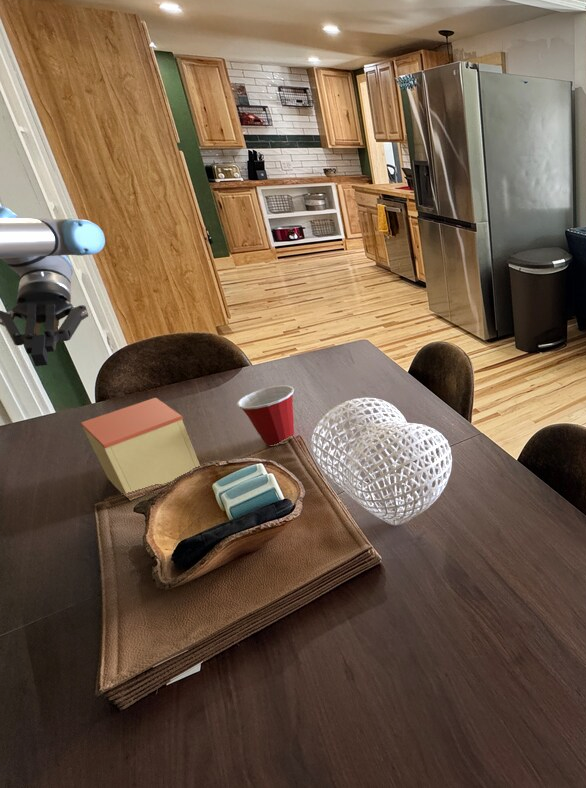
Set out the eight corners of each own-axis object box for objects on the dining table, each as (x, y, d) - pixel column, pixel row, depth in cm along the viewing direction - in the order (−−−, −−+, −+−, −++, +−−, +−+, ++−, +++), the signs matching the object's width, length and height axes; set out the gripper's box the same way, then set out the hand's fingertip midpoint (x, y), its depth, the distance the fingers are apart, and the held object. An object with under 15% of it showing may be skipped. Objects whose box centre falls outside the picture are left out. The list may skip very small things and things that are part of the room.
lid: (183, 419, 95) (181, 415, 94) (104, 448, 86) (103, 444, 85) (157, 400, 101) (155, 397, 101) (81, 426, 92) (80, 422, 92)
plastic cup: (290, 421, 117) (278, 378, 112) (315, 434, 112) (303, 390, 107) (241, 443, 108) (226, 398, 104) (266, 459, 103) (251, 412, 99)
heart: (479, 530, 85) (466, 425, 76) (399, 591, 73) (374, 475, 65) (393, 469, 100) (374, 376, 92) (317, 511, 89) (287, 409, 80)
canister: (201, 469, 100) (181, 417, 95) (130, 502, 91) (103, 447, 86) (177, 450, 106) (157, 400, 101) (108, 479, 97) (82, 426, 92)
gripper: (-9, 282, 97) (-24, 350, 84) (83, 278, 105) (83, 339, 92) (4, 312, 101) (-8, 382, 88) (92, 306, 109) (93, 368, 96)
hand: (39, 360), depth 90 cm, fingers closed
